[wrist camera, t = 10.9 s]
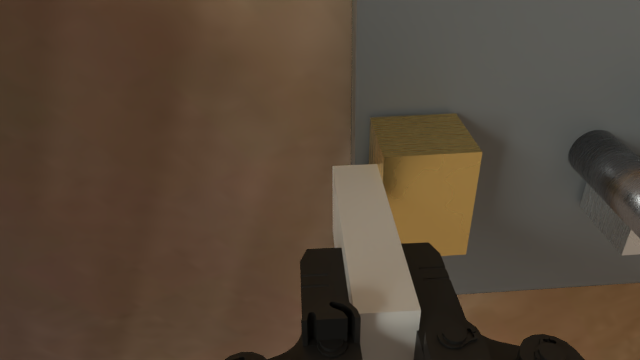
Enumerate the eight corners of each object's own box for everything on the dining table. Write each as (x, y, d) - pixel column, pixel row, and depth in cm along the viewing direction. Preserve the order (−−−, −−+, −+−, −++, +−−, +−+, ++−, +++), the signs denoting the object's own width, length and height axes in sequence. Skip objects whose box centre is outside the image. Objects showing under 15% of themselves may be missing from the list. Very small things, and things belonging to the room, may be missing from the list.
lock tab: (367, 212, 20) (379, 260, 18) (370, 117, 18) (383, 157, 16) (444, 207, 20) (466, 254, 18) (455, 113, 18) (482, 151, 16)
